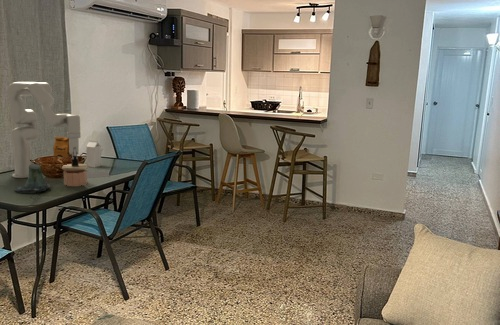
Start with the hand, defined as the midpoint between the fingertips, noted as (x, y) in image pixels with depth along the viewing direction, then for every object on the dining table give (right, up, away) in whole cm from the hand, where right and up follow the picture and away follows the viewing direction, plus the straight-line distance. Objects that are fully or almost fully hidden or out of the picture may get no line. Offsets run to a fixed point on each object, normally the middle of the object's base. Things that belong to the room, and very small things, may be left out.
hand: (74, 164), depth 268 cm
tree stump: (-18, -15, -15) cm, 28 cm away
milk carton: (-7, -2, +51) cm, 52 cm away
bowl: (-1, -12, +2) cm, 12 cm away
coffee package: (-25, -3, +43) cm, 50 cm away
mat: (+4, -7, +26) cm, 27 cm away
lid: (0, -2, 0) cm, 2 cm away
